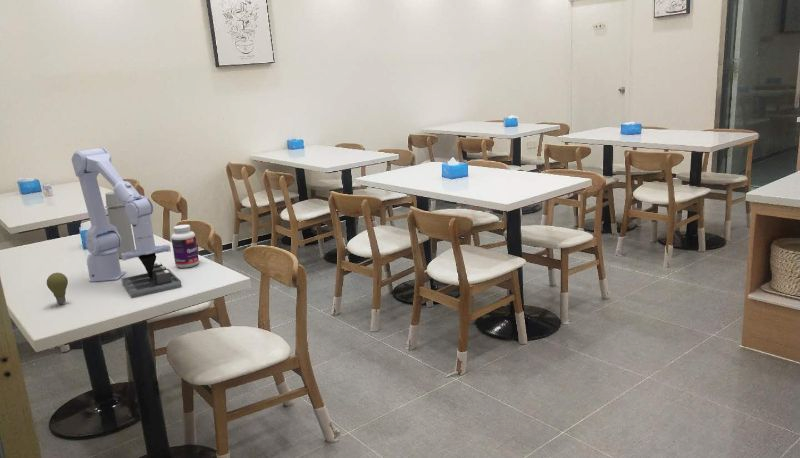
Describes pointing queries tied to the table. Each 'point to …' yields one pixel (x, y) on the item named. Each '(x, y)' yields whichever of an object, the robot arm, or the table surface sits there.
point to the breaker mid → (158, 271)
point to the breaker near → (163, 277)
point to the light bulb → (58, 286)
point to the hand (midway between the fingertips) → (150, 276)
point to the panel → (147, 285)
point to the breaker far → (157, 265)
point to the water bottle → (120, 222)
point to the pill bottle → (184, 247)
